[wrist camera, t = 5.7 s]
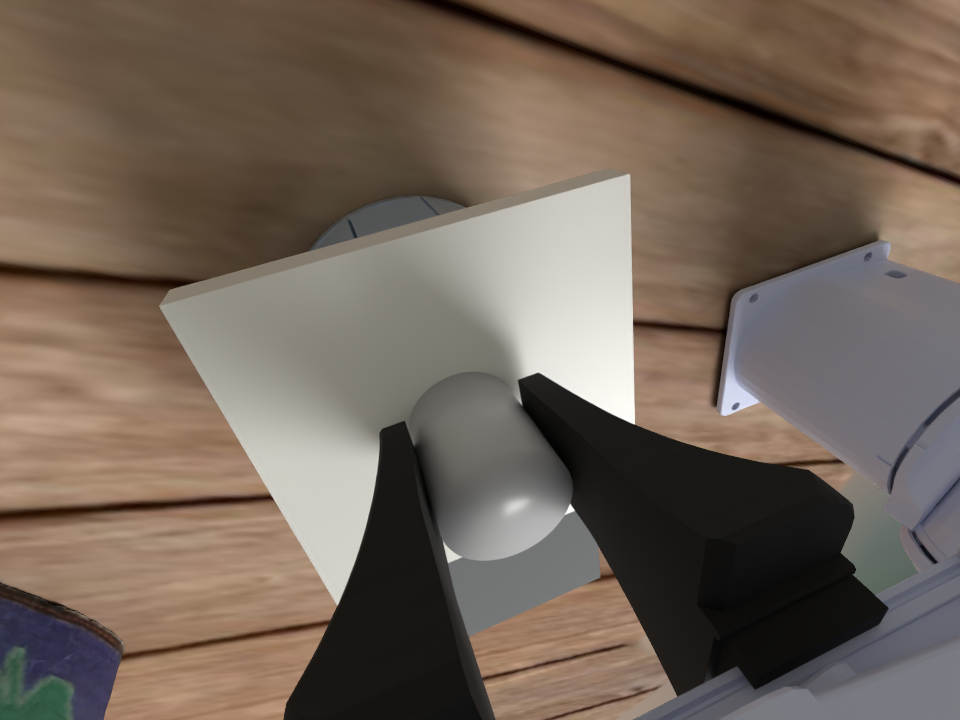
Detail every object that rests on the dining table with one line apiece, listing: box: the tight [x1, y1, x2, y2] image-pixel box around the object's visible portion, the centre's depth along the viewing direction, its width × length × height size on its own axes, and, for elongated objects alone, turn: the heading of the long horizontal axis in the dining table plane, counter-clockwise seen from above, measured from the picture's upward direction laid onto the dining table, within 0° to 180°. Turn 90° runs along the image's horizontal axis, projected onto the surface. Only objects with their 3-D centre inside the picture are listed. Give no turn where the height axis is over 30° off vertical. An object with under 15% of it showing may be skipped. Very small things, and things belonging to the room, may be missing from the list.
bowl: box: [308, 195, 467, 251], centre depth 17 cm, size 9×9×4 cm
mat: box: [448, 511, 600, 637], centre depth 27 cm, size 14×15×1 cm
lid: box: [159, 169, 635, 606], centre depth 13 cm, size 11×11×4 cm
